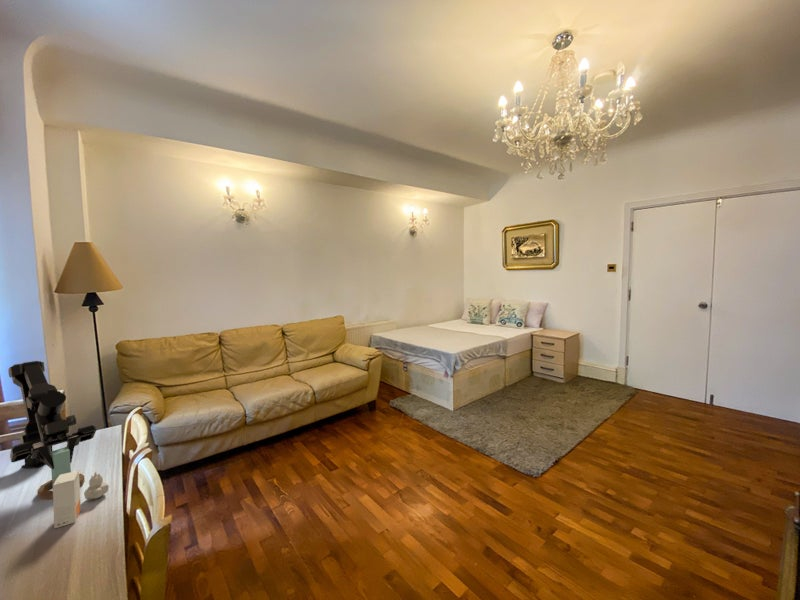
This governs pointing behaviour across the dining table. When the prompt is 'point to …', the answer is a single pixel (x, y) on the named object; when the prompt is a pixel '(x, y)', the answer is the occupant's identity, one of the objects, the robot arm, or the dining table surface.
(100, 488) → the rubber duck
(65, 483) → the skincare box
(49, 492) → the walnut ring
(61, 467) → the green rectangular block
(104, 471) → the dining table surface
